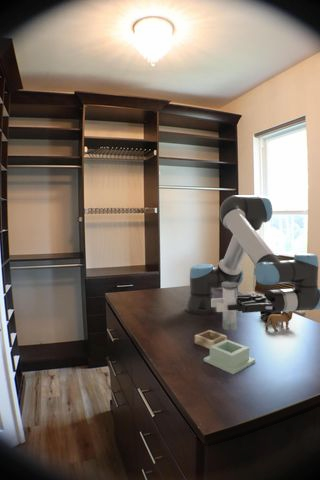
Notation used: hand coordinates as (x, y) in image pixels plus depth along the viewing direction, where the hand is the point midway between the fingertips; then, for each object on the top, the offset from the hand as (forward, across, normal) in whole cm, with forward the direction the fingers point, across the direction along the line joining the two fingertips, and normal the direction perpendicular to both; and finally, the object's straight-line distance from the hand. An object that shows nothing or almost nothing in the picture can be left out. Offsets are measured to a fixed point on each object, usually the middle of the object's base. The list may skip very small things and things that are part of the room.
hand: (214, 305), depth 104 cm
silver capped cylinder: (-5, 0, -8) cm, 10 cm away
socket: (-5, 0, -20) cm, 20 cm away
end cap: (-40, +35, -20) cm, 57 cm away
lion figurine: (-38, +24, -20) cm, 49 cm away
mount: (-4, +16, -20) cm, 25 cm away
